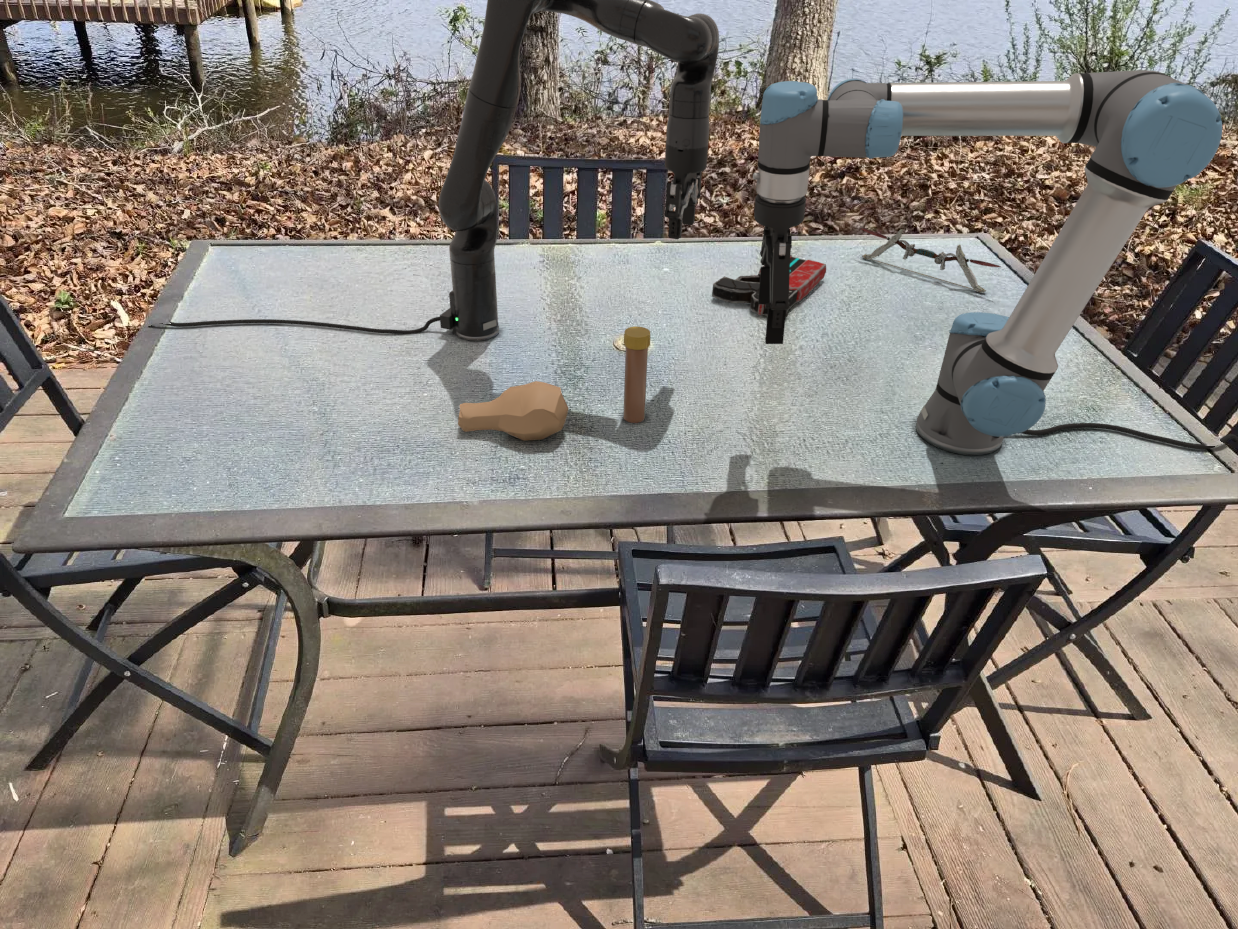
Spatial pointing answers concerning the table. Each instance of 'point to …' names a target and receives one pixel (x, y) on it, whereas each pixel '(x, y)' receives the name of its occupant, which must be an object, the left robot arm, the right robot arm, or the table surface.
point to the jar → (635, 385)
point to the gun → (747, 287)
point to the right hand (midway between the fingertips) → (770, 322)
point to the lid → (637, 338)
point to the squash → (519, 412)
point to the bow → (938, 258)
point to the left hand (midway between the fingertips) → (681, 231)
